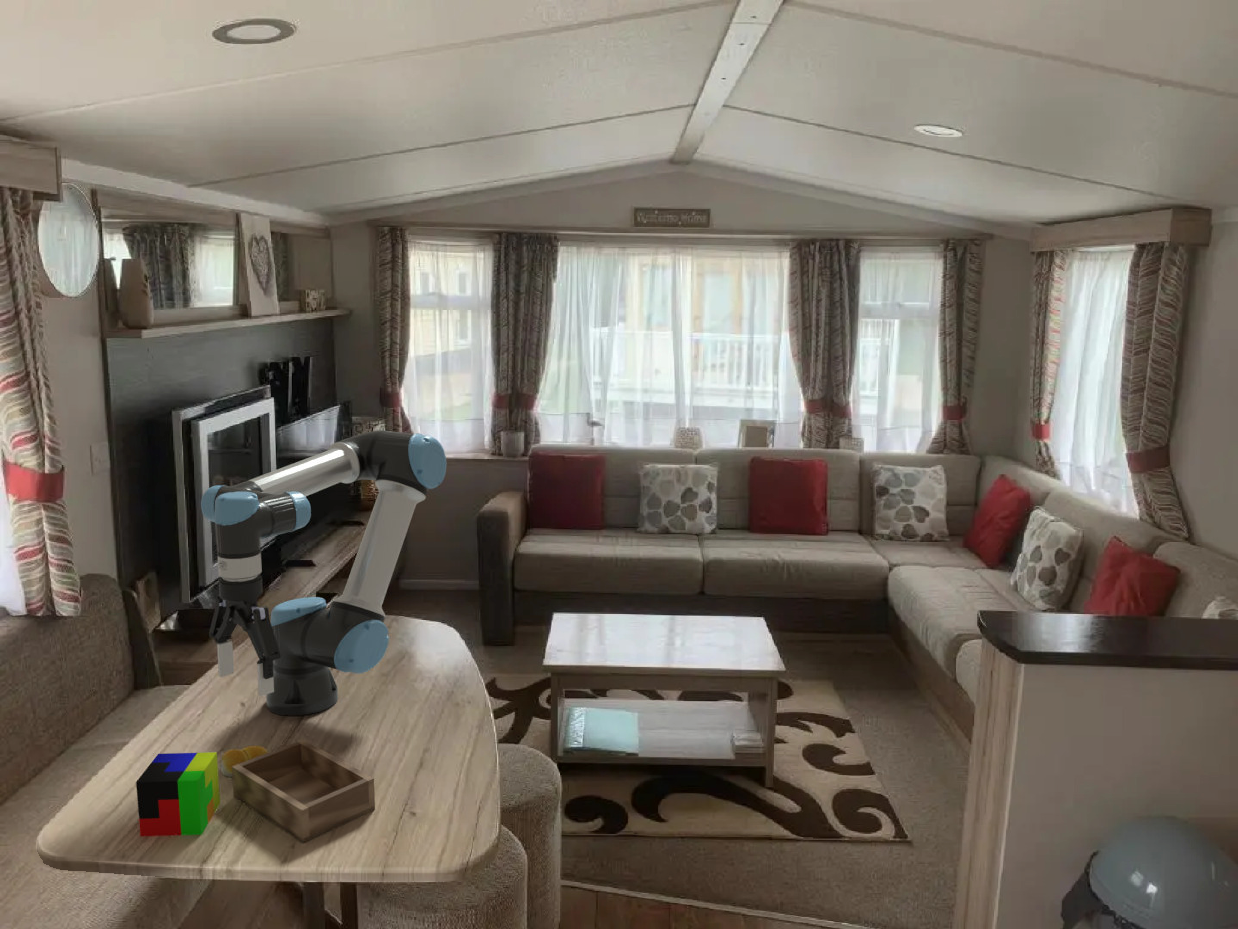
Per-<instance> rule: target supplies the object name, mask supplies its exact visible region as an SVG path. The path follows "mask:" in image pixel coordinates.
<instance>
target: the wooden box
mask: <svg viewBox="0 0 1238 929" xmlns="http://www.w3.org/2000/svg"><path fill="white" fill-rule="evenodd" d="M232 776H233V777H232V790H233V791H232V792H233V798H234V797H235V798H234V799H236V800H237V801H238V802H240V803H242V804H243V803H244V804H243V805H244V806H246V807H248V808H249V809H251V810H252V809H253V810H252V811H254V812H255V813H257V814H258V815H260V816H262V817H263V818H265V819H266V820H267V821H269V822H271V823H272V824H274V825H275V826H276V827H278V828H280V829H281V830H283V831H284V832H285V833H287V834H288V835H290V836H292V837H294V839H296V840H297V841H299V842H301V843H302V844H305V843H307V842H310V841H311V840H315V838H317V837H320V836H322V835H324V834H327V833H329V832H330V831H333V830H335V829H336V828H339V827H341V826H344V825H345V824H347V823H349V822H351V821H353V820H355V819H357V818H360V817H362V816H364V815H366V814H368V813H370V812H372V811H375V810H376V802H375V801H376V800H375V798H376V797H375V795H376V794H375V793H376V792H375V778H374V777H372V776H371V775H369V774H367V773H365V772H364V771H362V770H361V769H357V768H356V767H355V766H352V765H351V764H349V763H347V762H345V761H343V760H341V759H340V758H338V757H336V756H334V755H332V754H330V753H329V752H327V751H325V750H324V749H321V748H319V747H317V746H316V745H314V744H312V743H310V742H309V741H306V740H305V739H300V740H298V741H295V742H292V743H289V744H287V745H285V746H281V747H278V748H277V749H274V750H271V751H268V753H266V754H263V755H261V756H258V757H256V758H253V759H250V760H248V761H245V762H243V763H240V764H237V765H235V766H232Z"/></svg>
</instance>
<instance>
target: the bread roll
mask: <svg viewBox="0 0 1238 929" xmlns="http://www.w3.org/2000/svg"><path fill="white" fill-rule="evenodd" d="M268 752H269V751H268V750H267V749H266V748H265V747H263V746H259V745H251V746H245V747H244V748H241V749H237V748H236V749H228V750H227V751H226V752H224V754H222V755H221V759H220V763H219V770H220V772H221V774H222V775H223V776H225V777H226V778H227V777H228V778H233V776H232V766H235V765H237V764H240V763H243V762H245V761H248V760H250V759H253V758H256V757H258V756H261V755H263V754H266V753H268Z"/></svg>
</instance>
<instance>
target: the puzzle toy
mask: <svg viewBox="0 0 1238 929" xmlns="http://www.w3.org/2000/svg"><path fill="white" fill-rule="evenodd" d="M135 785H136V786H135V788H136V798H137V810H138V822H139V836H140V837H165V836H166V837H167V836H169V837H170V836H171V837H172V836H198V835H199V836H202V835H203V833H204V832H205V830H206V829H207V827H208V825H209V823H210V822H211V820H212V819H213V817H214V815H215V813H216V812H215V811H217V810H218V808H219V807H220V805H221V796H220V794H221V793H220V781H219V765H218V752H215V751H214V752H172V753H169V752H168V753H157V755H156V756H155V757H154V759H153V760H151V762H150V764H149V765H148V766H147V768H145V770H144V771H143V773H142V774H141V775H140V776H139V778H138V779H137V780H136V781H135ZM219 804H220V805H219ZM218 806H219V807H218ZM216 809H217V810H216ZM212 816H213V817H212Z"/></svg>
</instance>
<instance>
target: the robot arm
mask: <svg viewBox="0 0 1238 929" xmlns="http://www.w3.org/2000/svg"><path fill="white" fill-rule="evenodd" d="M446 473H447V457H446V454H445V449H444V447H443V445H442V444H441V443H440V441H439V440H438V439H437V438H435V437H433V436H430V435H426V434H425V435H424V434H422V433H411V432H410V433H409V432H401V431H391V430H383V429H379V430H373V431H367V432H363V433H360V434H357V435H354V436H353V435H352V436H350V437H348V438H345V439H342V440H340V441H337V442H334V443H332V444H330V446H329V447H328V449H327V450H324V452H320V453H317V454H314V455H313V456H310V457H307V458H305V459H302V460H299V461H296V462H295V463H294V462H293V463H290V464H288V465H285V466H283V467H281V468H278V469H275V470H273V471H270V472H267V473H264V474H261V475H259V476H256V477H254V478H252V479H248V480H246V481H243V482H240V483H237V484H233V485H231V486H229V485H227V484H223V485H220V484H219V485H213V486H210V487H209V488H208V489H206V491H205V492H204V493H203V495H202V496H201V501H200V509H201V513H202V515H203V517H204V518H205V519H206V520H208V521H210V522H213V523H214V527H215V528H214V530H215V542H216V555H217V563H216V568H217V570H218V576H219V577H220V578H219V579H218V592H219V593H218V594H217V595H215V608H214V611H213V615H212V620H211V623H210V624H211V625H210V629H209V633H208V635H209V637H210V638H213V639H214V642H215V643H216V649H217V665H218V666H217V668H218V677H220V678H222V677H223V678H224V677H226V676H230V675H232V674H234V673H235V671H234V670H235V669H234V668H235V667H234V665H235V664H234V650H233V648H234V647H233V641H232V640H231V639H233V637H232V634H233V632H234V631H235V629H236V627H237V625H238V626H240V627H241V628H242V630H243V631H244V632H246V633H247V635H248V637H249V640H250V642H251V644H252V646H253V649H254V651H255V653H256V655H257V657H258V660H257V661H256V668H257V686H258V687H257V689H258V696H259V697H263V696H266V697H265V699H266V708H267V710H268V711H270V712H271V713H273V714H277V715H280V716H281V715H282V716H288V717H289V716H293V717H294V716H297V717H298V716H306V715H311V714H316V713H319V712H323V711H325V710H327V709H329V708H330V707H333V706H334V705H335V704H336V703H337V702H338V699H339V691H338V685H337V683H336V681H335V677H334V675H333V673H332V671H331V669H334V670H338V671H340V672H342V673H352V674H364V673H367V672H369V671H371V669H373V668H375V667H376V666H377V665H378V664H379V663H381V662H380V661H381V660H382V659H383V658H384V656H385V654H386V652H387V649H388V645H389V640H390V636H388V635H389V630H388V627H387V626H386V625H385V623H384V622H385V619H386V614H385V611H384V610H383V606H382V605H383V603H384V600H385V597H386V594H387V591H388V588H389V585H390V583H391V579H392V577H393V574H394V570H395V569H396V566H397V565H396V564H397V562H398V559H399V556H400V552H401V550H402V547H403V544H404V541H405V538H406V536H407V533H408V529H409V528H410V523H411V521H412V518H413V514H414V513H415V509H416V506H417V504H419V503H421V502H423V501H425V500H426V498H427V495H428V492H429V490H433V489H435V488H437V487H438V486H439V485H441V484H442V482H443V481H444V479H445V476H446ZM361 480H369V481H371V480H372V481H374V484H375V486H376V488H377V491H378V494H377V496H376V499H375V503H374V505H373V508H372V511H371V513H370V517H369V518H368V522H367V525H366V527H365V528H366V529H365V531H364V534H363V536H362V539H361V541H360V545H359V548H358V550H357V554H356V556H355V558H354V559H355V560H354V561H353V564H352V567H351V570H350V573H349V576H348V578H347V581H346V583H345V587H344V589H343V593H342V594H341V595H340V596H338V597H336V598H334V599H332V603H331V604H330V608H329V609H328V608H327V607H328V604H327V603H326V599H325V598H323V597H319V596H309V597H308V596H307V597H301V598H295V599H291V600H286V601H284V602H281V603H279V604H276V606H274V608H272V610H271V612H270V611H269V607H268V606H262V607H259V606H258V601H257V600H258V598H259V597H260V596H262V594H263V591H264V590H263V577H262V575H261V573H262V571H263V570H262V552H261V549H262V548H261V540H264V539H268V538H271V537H276V536H279V535H282V534H286V533H293V532H294V531H297V530H298V529H302V528H304V527H306V525H307V524H308V523H309V522H310V519H311V517H312V513H311V512H312V510H311V509H312V508H311V504H310V501H309V500H308V498H307V497H308V496H309V495H313V494H316V493H318V492H319V491H322V490H325V489H327V488H329V487H332V486H335V485H336V484H337V485H338V484H339V483H343V484H351V483H354V482H356V481H361Z"/></svg>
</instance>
